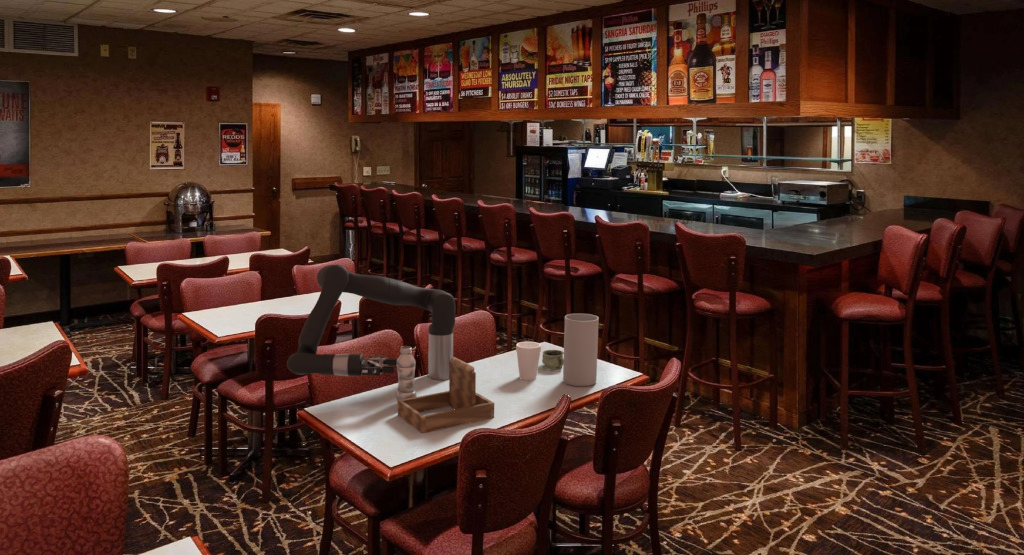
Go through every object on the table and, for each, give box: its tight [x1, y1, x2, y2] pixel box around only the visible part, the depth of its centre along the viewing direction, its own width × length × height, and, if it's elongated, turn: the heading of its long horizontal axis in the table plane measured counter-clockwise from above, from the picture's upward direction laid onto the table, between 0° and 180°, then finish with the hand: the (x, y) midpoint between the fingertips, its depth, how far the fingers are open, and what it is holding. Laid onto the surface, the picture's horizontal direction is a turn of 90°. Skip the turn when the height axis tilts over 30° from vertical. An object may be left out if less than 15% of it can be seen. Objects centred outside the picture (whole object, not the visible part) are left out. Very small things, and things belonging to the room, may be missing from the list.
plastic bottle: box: [396, 345, 417, 402], centre depth 255 cm, size 6×7×20 cm
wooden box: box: [397, 356, 495, 434], centre depth 244 cm, size 18×26×18 cm
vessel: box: [541, 349, 564, 371], centre depth 300 cm, size 12×9×6 cm
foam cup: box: [515, 341, 542, 381], centre depth 286 cm, size 10×9×13 cm
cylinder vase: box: [562, 313, 600, 388], centre depth 281 cm, size 12×12×25 cm
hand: (396, 365), depth 254 cm, fingers open, 8 cm apart
